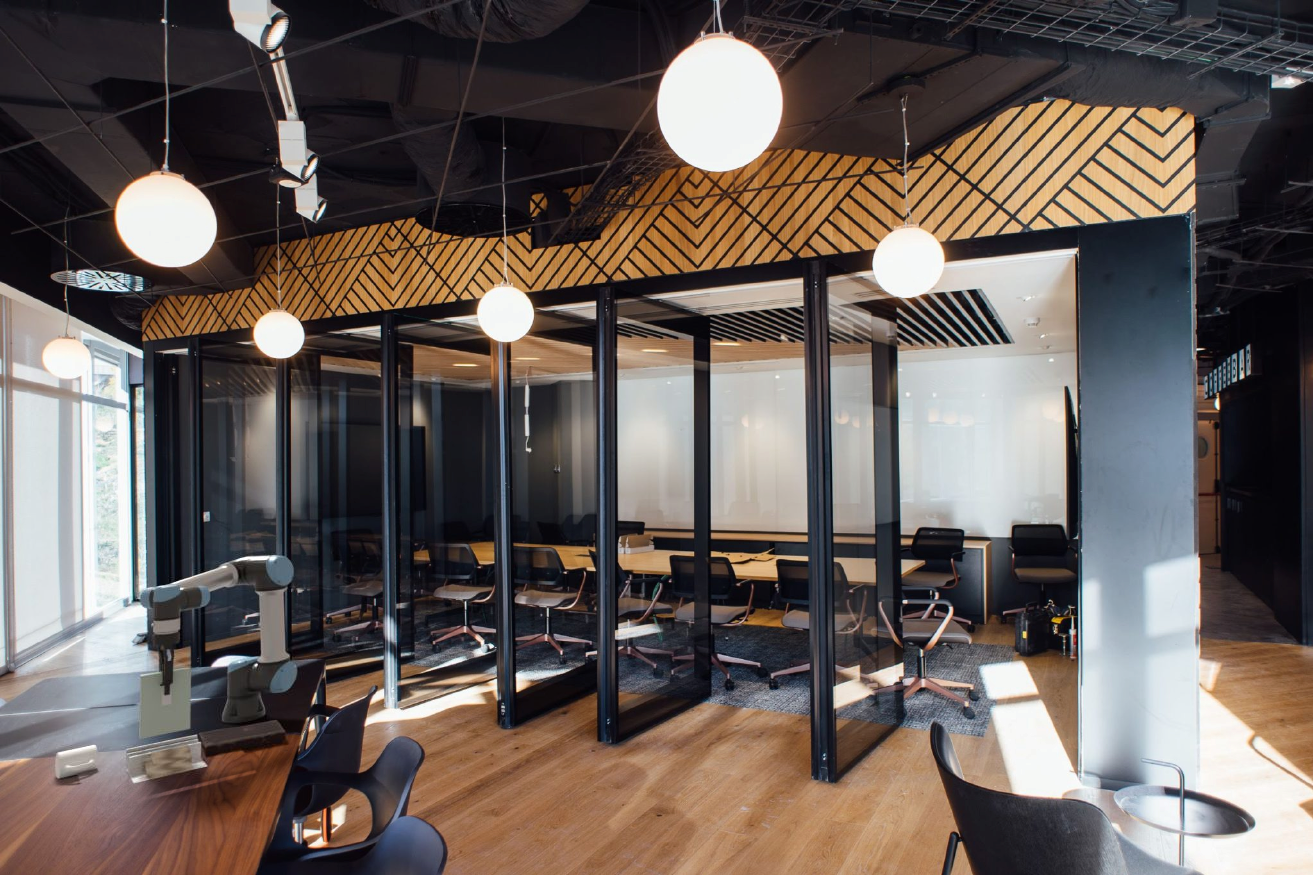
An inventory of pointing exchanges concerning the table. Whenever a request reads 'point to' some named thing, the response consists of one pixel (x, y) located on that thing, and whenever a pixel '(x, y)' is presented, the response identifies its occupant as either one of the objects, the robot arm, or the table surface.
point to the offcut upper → (170, 755)
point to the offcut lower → (167, 767)
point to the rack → (143, 753)
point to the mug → (76, 761)
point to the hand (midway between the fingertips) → (165, 703)
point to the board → (168, 716)
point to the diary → (243, 737)
